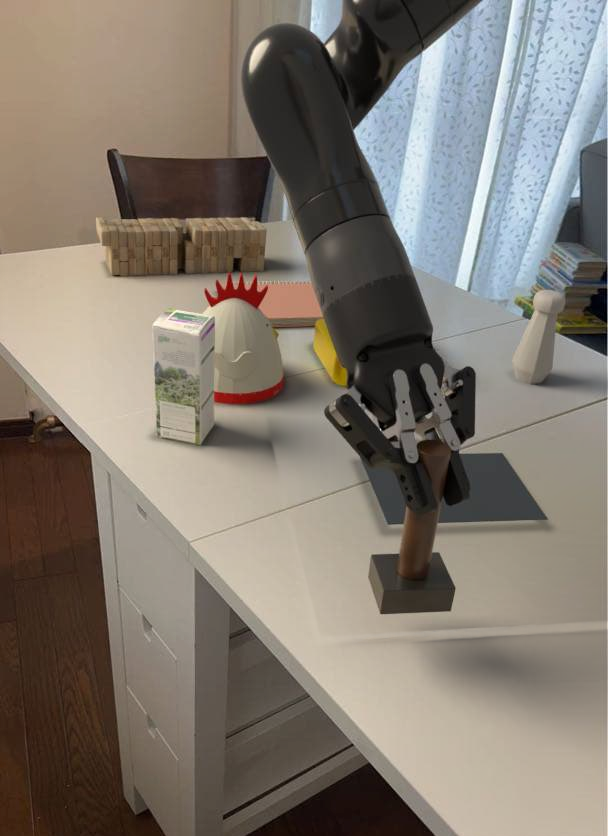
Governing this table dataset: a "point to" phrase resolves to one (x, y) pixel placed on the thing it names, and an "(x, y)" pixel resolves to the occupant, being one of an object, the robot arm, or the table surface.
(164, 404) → the syrup box
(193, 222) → the block tower
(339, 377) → the element tile
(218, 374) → the kitchen timer
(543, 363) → the salt shaker
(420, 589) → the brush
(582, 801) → the table surface
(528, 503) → the board
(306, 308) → the notebook
